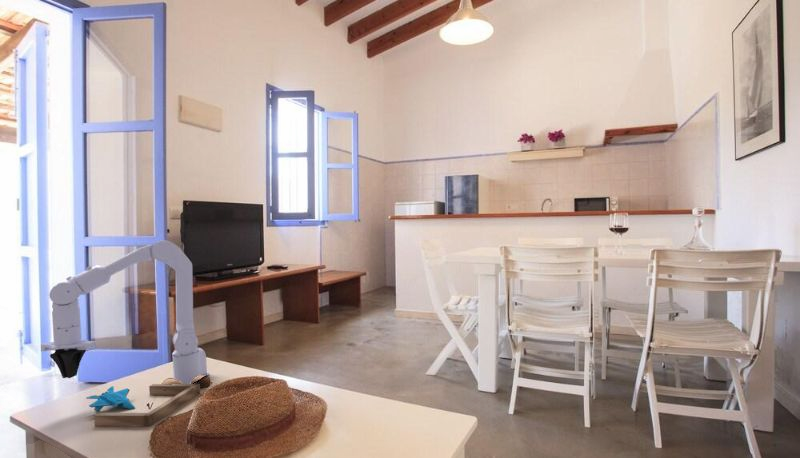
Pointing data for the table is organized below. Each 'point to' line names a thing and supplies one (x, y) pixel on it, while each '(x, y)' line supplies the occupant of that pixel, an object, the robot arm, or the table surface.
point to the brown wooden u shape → (147, 419)
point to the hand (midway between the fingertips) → (69, 376)
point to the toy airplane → (111, 399)
